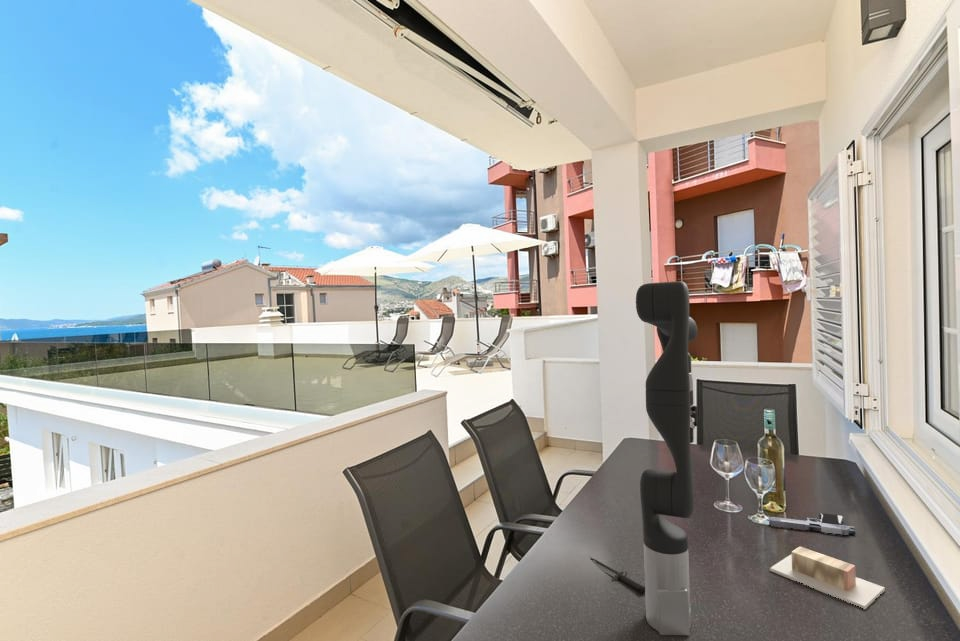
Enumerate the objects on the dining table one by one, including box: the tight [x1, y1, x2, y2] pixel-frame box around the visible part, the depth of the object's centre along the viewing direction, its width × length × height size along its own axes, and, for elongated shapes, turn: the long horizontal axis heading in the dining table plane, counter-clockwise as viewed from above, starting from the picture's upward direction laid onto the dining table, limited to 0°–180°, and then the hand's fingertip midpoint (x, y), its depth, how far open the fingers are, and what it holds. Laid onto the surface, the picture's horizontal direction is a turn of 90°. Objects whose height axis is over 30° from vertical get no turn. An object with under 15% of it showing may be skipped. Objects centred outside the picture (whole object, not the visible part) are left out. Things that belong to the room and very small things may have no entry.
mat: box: [769, 553, 886, 610], centre depth 117 cm, size 20×12×1 cm, turn 33°
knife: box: [589, 556, 645, 594], centre depth 126 cm, size 25×2×5 cm
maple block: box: [791, 545, 857, 591], centre depth 118 cm, size 5×5×12 cm
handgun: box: [768, 512, 856, 536], centre depth 148 cm, size 2×22×12 cm
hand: (680, 444), depth 135 cm, fingers open, 8 cm apart
